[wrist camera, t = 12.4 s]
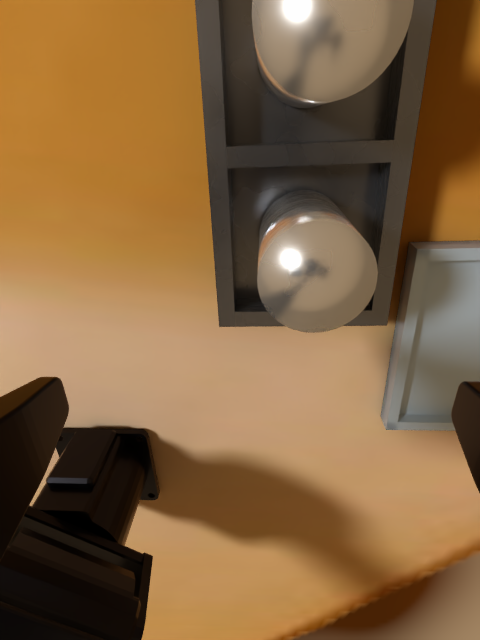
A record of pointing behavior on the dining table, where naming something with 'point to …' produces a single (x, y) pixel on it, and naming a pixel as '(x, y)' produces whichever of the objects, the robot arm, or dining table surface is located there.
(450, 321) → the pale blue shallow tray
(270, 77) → the cylinder
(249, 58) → the grey divided tray
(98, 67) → the dining table surface
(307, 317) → the cylinder
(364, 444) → the dining table surface
